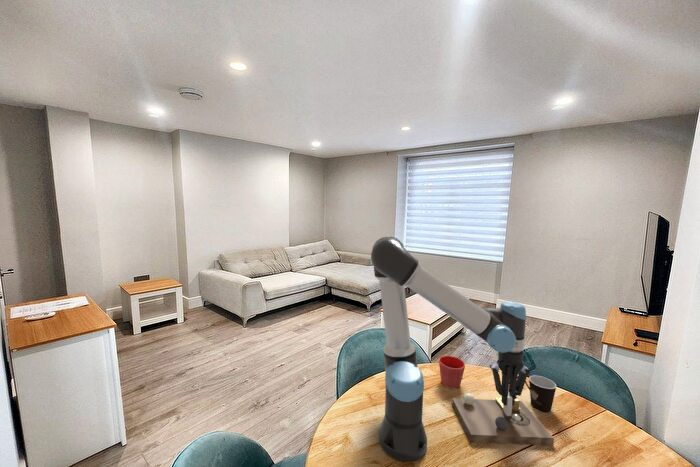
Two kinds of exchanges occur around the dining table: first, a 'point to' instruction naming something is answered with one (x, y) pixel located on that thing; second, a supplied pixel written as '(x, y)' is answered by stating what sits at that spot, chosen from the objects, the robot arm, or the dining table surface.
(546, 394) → the coffee mug
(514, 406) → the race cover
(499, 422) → the grey ball
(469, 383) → the dining table surface
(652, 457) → the dining table surface
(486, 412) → the board
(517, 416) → the steel ball
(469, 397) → the cream ball
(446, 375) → the flower pot
